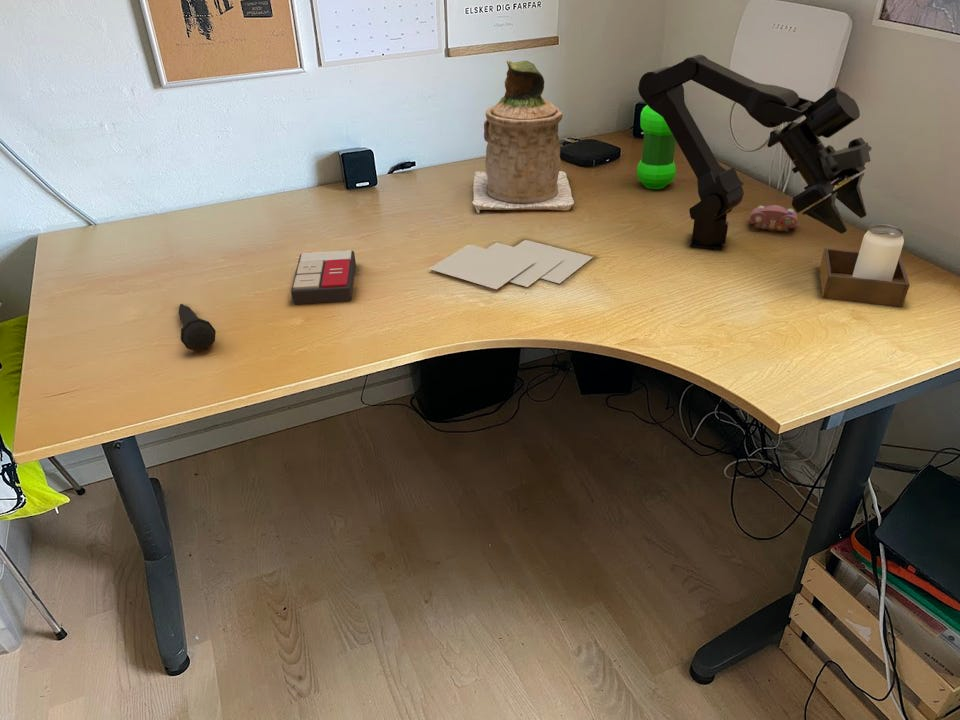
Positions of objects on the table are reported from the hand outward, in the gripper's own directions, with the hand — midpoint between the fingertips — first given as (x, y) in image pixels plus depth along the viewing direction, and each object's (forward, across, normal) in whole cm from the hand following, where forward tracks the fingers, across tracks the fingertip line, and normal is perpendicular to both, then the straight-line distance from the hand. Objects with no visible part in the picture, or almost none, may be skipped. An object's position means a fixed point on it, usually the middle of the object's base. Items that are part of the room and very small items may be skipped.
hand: (854, 224), depth 131 cm
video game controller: (-6, +16, +23) cm, 28 cm away
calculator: (-45, -65, +61) cm, 100 cm away
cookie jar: (-46, -3, +63) cm, 78 cm away
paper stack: (-29, -35, +45) cm, 64 cm away
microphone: (-47, -91, +63) cm, 120 cm away
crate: (+11, 0, +6) cm, 12 cm away
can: (+12, 0, +5) cm, 13 cm away
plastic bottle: (-31, +23, +47) cm, 61 cm away
